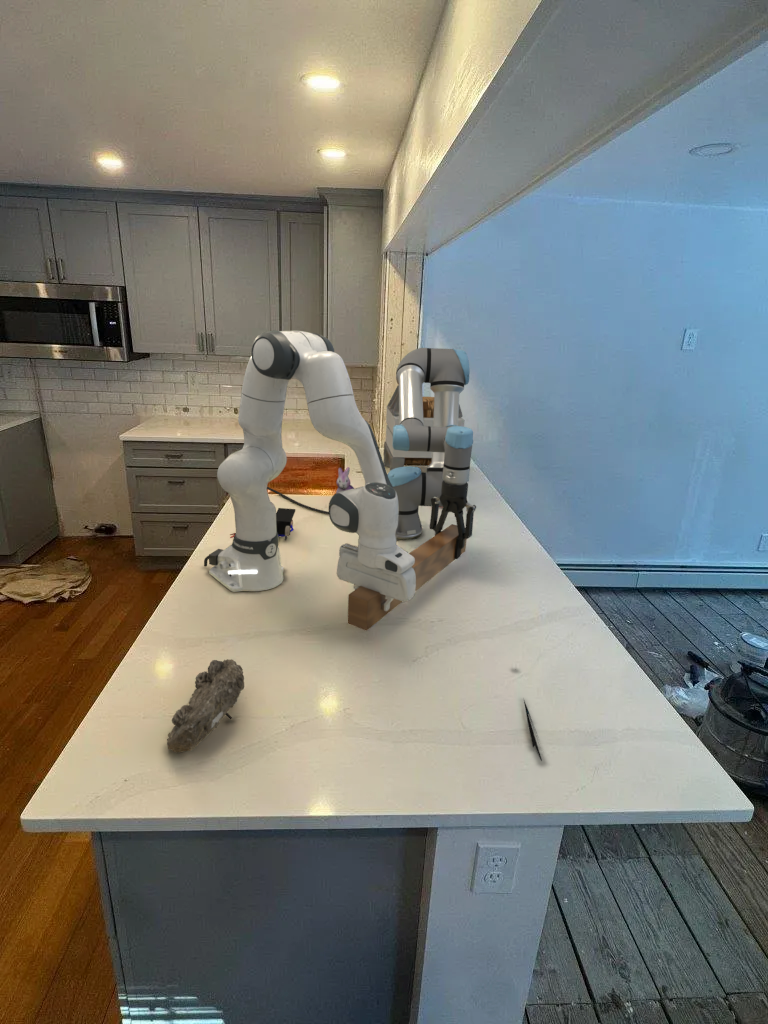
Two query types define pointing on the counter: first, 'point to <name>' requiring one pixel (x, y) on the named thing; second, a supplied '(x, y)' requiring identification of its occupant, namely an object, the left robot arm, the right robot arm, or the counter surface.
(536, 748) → the feather
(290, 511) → the figurine character
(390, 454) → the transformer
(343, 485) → the figurine
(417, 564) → the bar
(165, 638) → the counter surface
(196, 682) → the fossil
